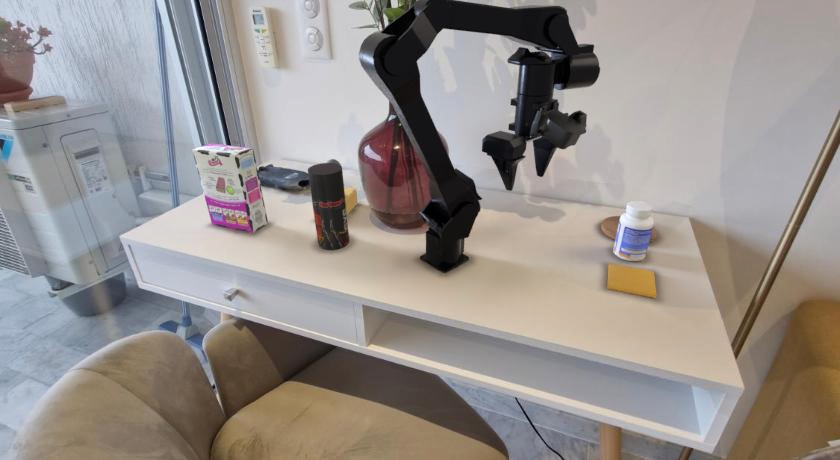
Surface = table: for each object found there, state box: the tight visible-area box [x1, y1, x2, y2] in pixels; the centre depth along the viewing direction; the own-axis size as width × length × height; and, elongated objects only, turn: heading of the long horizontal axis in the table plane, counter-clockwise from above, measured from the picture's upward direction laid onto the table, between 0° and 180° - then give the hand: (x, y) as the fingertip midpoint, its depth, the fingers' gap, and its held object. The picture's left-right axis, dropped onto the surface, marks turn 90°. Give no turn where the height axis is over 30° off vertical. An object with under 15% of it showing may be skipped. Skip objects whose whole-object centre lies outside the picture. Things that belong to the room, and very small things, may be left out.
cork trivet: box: [600, 215, 658, 244], centre depth 86 cm, size 10×10×1 cm
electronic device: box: [257, 163, 310, 192], centre depth 109 cm, size 9×6×15 cm
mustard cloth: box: [606, 263, 657, 299], centre depth 71 cm, size 7×7×1 cm
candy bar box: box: [191, 143, 269, 234], centre depth 87 cm, size 11×5×16 cm, turn 68°
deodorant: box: [307, 162, 350, 251], centre depth 80 cm, size 6×6×15 cm
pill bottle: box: [612, 200, 655, 262], centre depth 76 cm, size 5×5×10 cm
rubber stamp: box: [325, 158, 359, 216], centre depth 93 cm, size 10×6×12 cm, turn 167°
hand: (525, 183), depth 78 cm, fingers open, 9 cm apart
